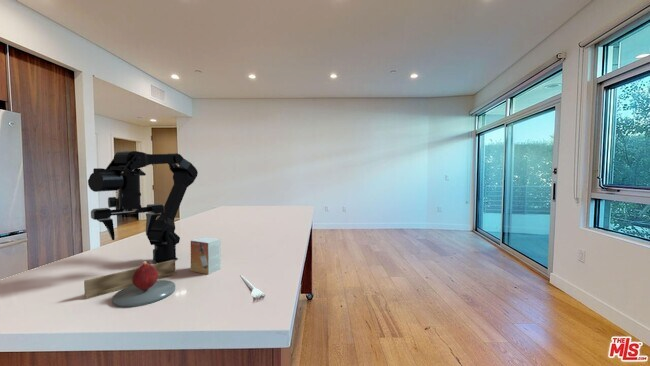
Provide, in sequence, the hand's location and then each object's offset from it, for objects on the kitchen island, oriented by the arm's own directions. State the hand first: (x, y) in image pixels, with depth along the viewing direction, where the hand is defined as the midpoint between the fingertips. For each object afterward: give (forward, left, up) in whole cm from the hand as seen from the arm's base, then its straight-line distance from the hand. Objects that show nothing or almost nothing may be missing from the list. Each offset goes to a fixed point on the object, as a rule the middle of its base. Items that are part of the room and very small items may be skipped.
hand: (130, 237), depth 86 cm
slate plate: (+2, +21, -12) cm, 24 cm away
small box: (-17, +16, -12) cm, 26 cm away
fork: (-19, +39, -13) cm, 45 cm away
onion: (+2, +21, -11) cm, 24 cm away
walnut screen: (+2, +11, -12) cm, 16 cm away
